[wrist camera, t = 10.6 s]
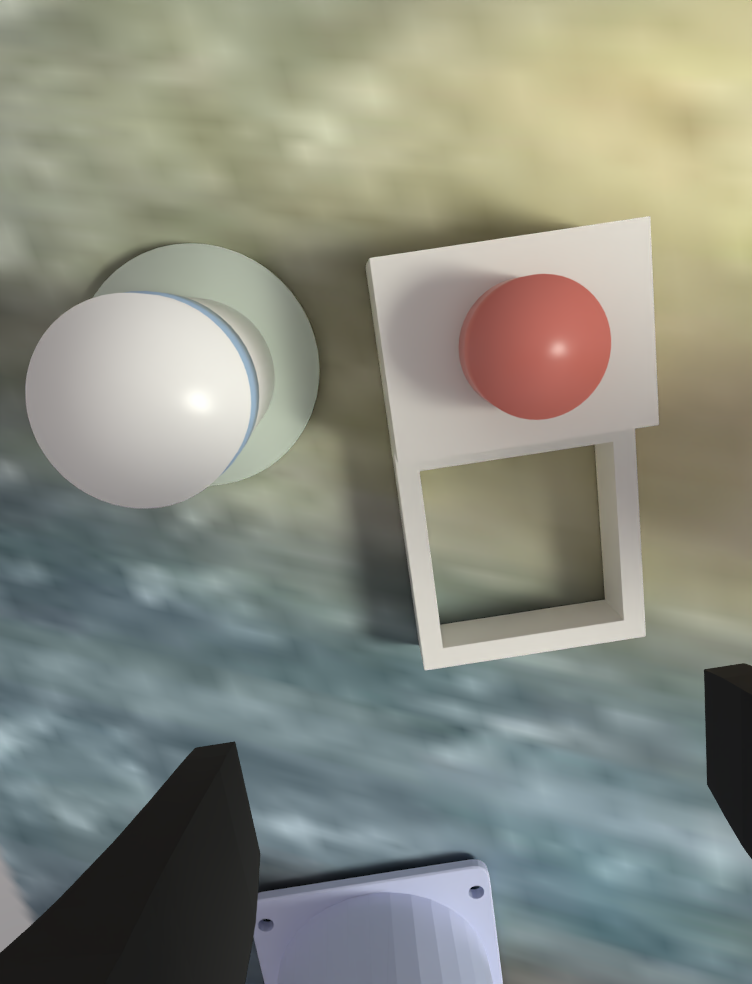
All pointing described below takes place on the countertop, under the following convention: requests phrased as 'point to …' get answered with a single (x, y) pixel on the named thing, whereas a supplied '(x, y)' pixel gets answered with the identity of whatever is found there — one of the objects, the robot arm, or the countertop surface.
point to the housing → (496, 434)
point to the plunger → (535, 345)
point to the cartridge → (147, 395)
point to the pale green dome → (272, 315)
